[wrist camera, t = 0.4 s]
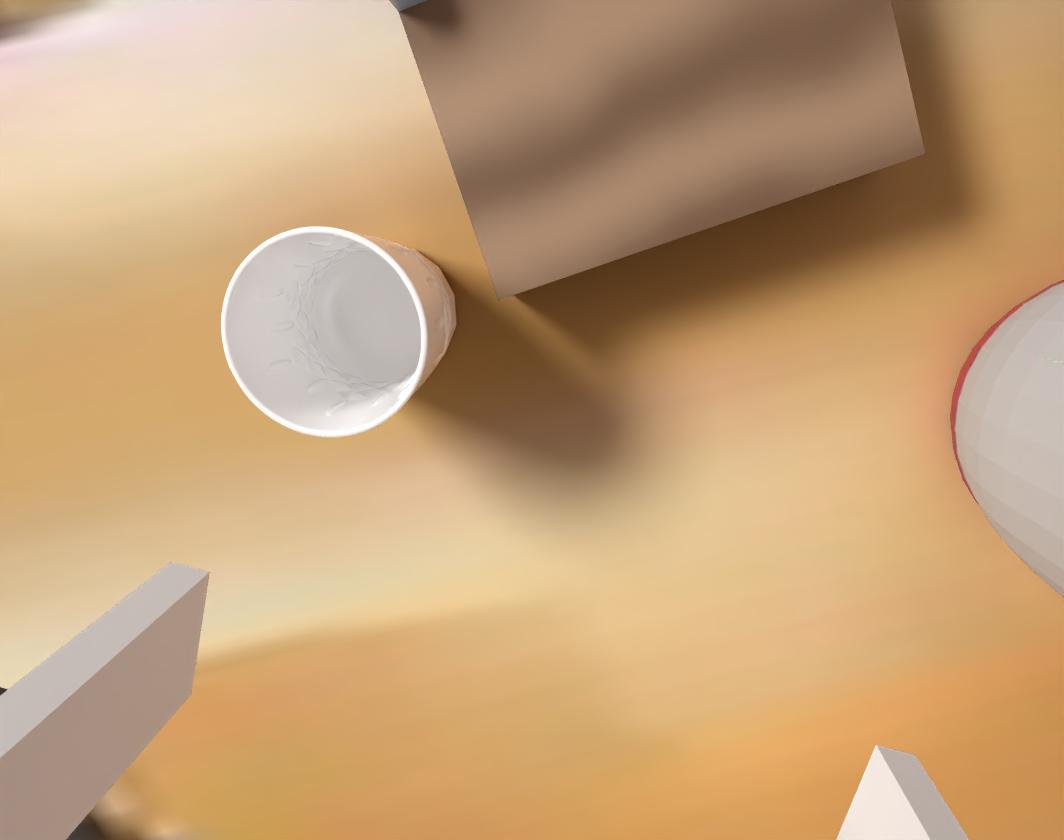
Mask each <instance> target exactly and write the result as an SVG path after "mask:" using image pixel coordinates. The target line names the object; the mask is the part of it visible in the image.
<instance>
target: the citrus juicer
mask: <svg viewBox="0 0 1064 840" xmlns="http://www.w3.org/2000/svg"><path fill="white" fill-rule="evenodd" d="M950 419H951V430H952V441H953V449H954V453H955V457H956V460H957V463H958V466H959V469H960V472H961V475H962V478H963V481H964V482H965V484H966V486H967V487H968V489H969V491H970V492H971V494H972V496H973V497H974V499H975V501H976V502H977V503H978V504H979V506H980V507H981V509H982V511H983V512H984V514H985V516H986V517H987V519H988V521H989V522H990V524H991V525H992V526H993V528H994V529H995V530H996V531H997V533H998V534H999V535H1000V536H1001V538H1002V539H1003V540H1004V541H1005V543H1006V544H1007V545H1008V546H1009V547H1010V548H1011V549H1012V550H1013V551H1014V553H1015V554H1016V555H1017V556H1018V557H1019V558H1020V559H1021V560H1022V561H1023V562H1024V563H1025V564H1026V565H1027V566H1028V567H1029V568H1030V569H1031V570H1032V571H1033V572H1034V573H1036V574H1037V575H1038V576H1039V577H1040V578H1041V579H1042V580H1044V581H1045V582H1046V583H1047V584H1048V585H1049V586H1050V587H1052V588H1053V589H1054V590H1055V591H1056V592H1058V593H1059V594H1060V595H1062V596H1063V597H1064V280H1062V281H1060V282H1057V283H1055V284H1052V285H1050V286H1049V287H1047V288H1045V289H1044V290H1042V291H1040V292H1039V293H1037V294H1035V295H1034V296H1032V297H1030V298H1029V299H1027V300H1025V301H1024V302H1022V303H1020V304H1019V305H1017V306H1016V307H1014V308H1013V309H1012V310H1011V311H1009V312H1008V313H1007V314H1006V315H1005V316H1004V317H1002V318H1001V319H1000V320H999V321H998V322H997V323H995V324H994V325H993V326H992V327H991V328H990V329H989V330H988V331H987V332H986V333H985V335H984V336H983V337H982V338H981V339H980V341H979V342H978V343H977V344H976V346H975V347H974V348H973V349H972V351H971V353H970V355H969V356H968V358H967V360H966V362H965V364H964V366H963V367H962V369H961V371H960V374H959V377H958V380H957V383H956V386H955V389H954V392H953V398H952V407H951V415H950Z"/></svg>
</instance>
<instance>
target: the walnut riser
mask: <svg viewBox="0 0 1064 840" xmlns="http://www.w3.org/2000/svg"><path fill="white" fill-rule="evenodd" d="M399 14H400V17H401V20H402V23H403V26H404V29H405V31H406V34H407V37H408V40H409V43H410V46H411V49H412V52H413V55H414V58H415V60H416V63H417V66H418V69H419V72H420V75H421V78H422V81H423V84H424V87H425V89H426V92H427V95H428V98H429V101H430V104H431V107H432V110H433V113H434V116H435V118H436V121H437V124H438V127H439V130H440V133H441V136H442V139H443V142H444V144H445V147H446V150H447V153H448V156H449V159H450V162H451V165H452V168H453V171H454V173H455V176H456V179H457V182H458V185H459V188H460V191H461V194H462V197H463V200H464V202H465V205H466V208H467V211H468V214H469V217H470V220H471V223H472V226H473V228H474V231H475V234H476V237H477V240H478V243H479V246H480V249H481V252H482V255H483V257H484V260H485V263H486V266H487V269H488V272H489V275H490V278H491V281H492V284H493V286H494V289H495V292H496V295H497V298H498V300H501V299H504V298H507V297H509V296H512V295H515V294H518V293H521V292H524V291H527V290H530V289H533V288H536V287H539V286H542V285H544V284H547V283H550V282H553V281H556V280H559V279H562V278H565V277H568V276H571V275H574V274H577V273H579V272H582V271H585V270H588V269H591V268H594V267H597V266H600V265H603V264H606V263H609V262H612V261H614V260H617V259H620V258H623V257H626V256H629V255H632V254H635V253H638V252H641V251H644V250H647V249H649V248H652V247H655V246H658V245H661V244H664V243H667V242H670V241H673V240H676V239H679V238H682V237H684V236H687V235H690V234H693V233H696V232H699V231H702V230H705V229H708V228H711V227H714V226H717V225H719V224H722V223H725V222H728V221H731V220H734V219H737V218H740V217H743V216H746V215H749V214H752V213H754V212H757V211H760V210H763V209H766V208H769V207H772V206H775V205H778V204H781V203H784V202H787V201H789V200H792V199H795V198H798V197H801V196H804V195H807V194H810V193H813V192H816V191H819V190H822V189H825V188H827V187H830V186H833V185H836V184H839V183H842V182H845V181H848V180H851V179H854V178H857V177H860V176H862V175H865V174H868V173H871V172H874V171H877V170H880V169H883V168H886V167H889V166H892V165H895V164H897V163H900V162H903V161H906V160H909V159H912V158H915V157H918V156H921V155H924V154H925V150H924V145H923V141H922V136H921V132H920V127H919V123H918V119H917V114H916V110H915V105H914V101H913V96H912V92H911V87H910V83H909V79H908V74H907V70H906V65H905V61H904V56H903V52H902V47H901V43H900V39H899V34H898V30H897V25H896V21H895V16H894V12H893V7H892V3H891V0H426V1H424V2H422V3H419V4H417V5H414V6H412V7H409V8H407V9H404V10H402V11H399Z"/></svg>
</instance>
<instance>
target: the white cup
mask: <svg viewBox="0 0 1064 840" xmlns="http://www.w3.org/2000/svg"><path fill="white" fill-rule="evenodd" d="M455 328H456V310H455V295H454V293H453V291H452V290H451V288H450V286H449V284H448V282H447V280H446V278H445V277H444V275H443V273H442V271H441V269H440V268H439V267H438V266H437V265H435V264H434V263H433V262H431V261H430V260H429V259H427V258H426V257H425V256H423V255H422V254H421V253H419V252H418V251H417V250H415V249H413V248H408V247H405V246H403V245H401V244H398V243H396V242H393V241H389V240H386V239H383V238H379V237H374V236H369V235H365V234H360V233H355V232H351V231H346V230H342V229H337V228H331V227H304V228H298V229H294V230H290V231H287V232H284V233H281V234H279V235H276V236H274V237H272V238H271V239H269V240H267V241H266V242H264V243H263V244H261V245H260V246H258V247H257V248H256V249H255V250H254V251H253V252H251V253H250V254H249V255H248V256H247V258H246V259H245V260H244V261H243V262H242V264H241V265H240V266H239V268H238V269H237V271H236V272H235V274H234V276H233V278H232V280H231V282H230V284H229V287H228V289H227V292H226V295H225V299H224V303H223V308H222V317H221V332H222V341H223V347H224V351H225V355H226V358H227V361H228V364H229V366H230V369H231V371H232V373H233V375H234V377H235V379H236V381H237V382H238V384H239V386H240V387H241V389H242V390H243V391H244V393H245V394H246V395H247V397H248V398H249V399H250V400H251V401H252V402H253V403H254V404H255V405H256V406H257V407H258V408H259V409H260V410H261V411H262V412H264V413H265V414H266V415H267V416H269V417H270V418H272V419H273V420H275V421H276V422H278V423H280V424H281V425H283V426H285V427H287V428H290V429H292V430H295V431H297V432H300V433H304V434H308V435H312V436H318V437H346V436H351V435H356V434H360V433H363V432H366V431H368V430H371V429H373V428H375V427H377V426H379V425H380V424H382V423H384V422H385V421H387V420H388V419H390V418H391V417H392V416H393V415H395V414H396V413H397V412H398V411H399V410H400V409H401V408H402V407H403V406H404V405H405V403H406V402H407V401H408V400H409V399H410V398H411V396H412V395H413V394H414V393H415V392H416V391H417V390H418V389H419V388H420V387H421V385H422V384H423V383H424V382H425V381H426V379H427V378H428V377H429V376H430V374H431V373H432V371H433V370H434V369H435V368H436V366H437V365H438V363H439V361H440V360H441V358H442V357H443V356H444V354H445V353H446V351H447V348H448V346H449V343H450V341H451V338H452V336H453V333H454V331H455Z"/></svg>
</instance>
